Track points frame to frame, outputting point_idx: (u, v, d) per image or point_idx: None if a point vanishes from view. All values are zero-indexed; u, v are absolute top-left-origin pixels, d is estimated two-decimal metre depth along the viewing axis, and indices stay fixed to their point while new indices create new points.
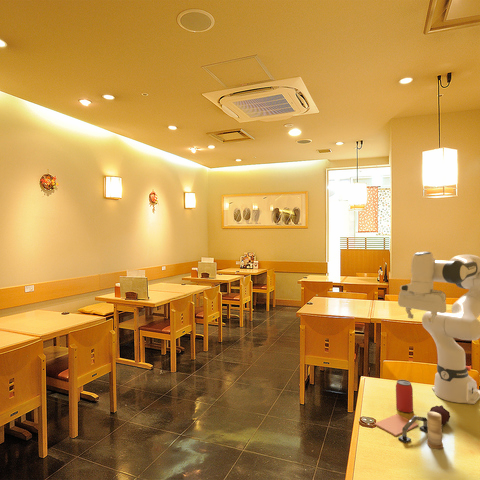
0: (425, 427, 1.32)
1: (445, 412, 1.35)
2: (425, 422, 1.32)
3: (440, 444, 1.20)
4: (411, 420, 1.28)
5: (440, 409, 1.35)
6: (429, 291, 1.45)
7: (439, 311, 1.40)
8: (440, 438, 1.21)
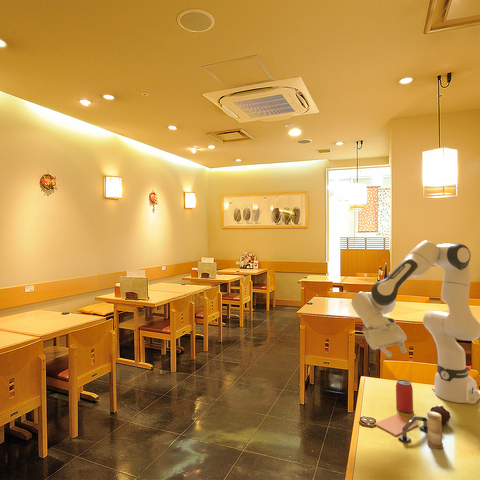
0: (425, 427, 1.32)
1: (445, 412, 1.34)
2: (425, 422, 1.32)
3: (440, 444, 1.20)
4: (411, 420, 1.28)
5: (440, 409, 1.35)
6: None
7: None
8: (440, 438, 1.21)
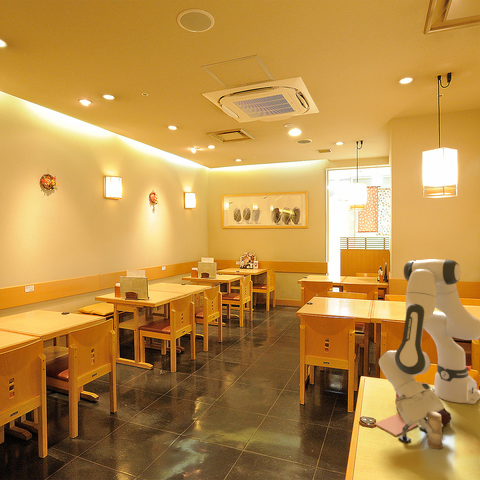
0: None
1: (446, 413, 1.34)
2: (425, 422, 1.32)
3: (440, 444, 1.20)
4: None
5: (441, 410, 1.34)
6: None
7: None
8: (440, 438, 1.21)
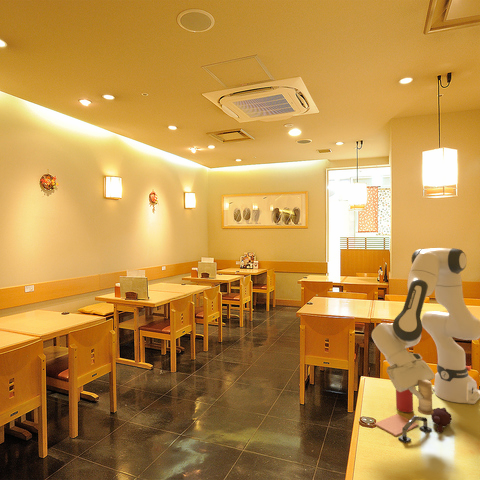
0: (425, 427, 1.32)
1: (446, 414, 1.33)
2: (425, 422, 1.32)
3: (430, 410, 1.23)
4: (411, 420, 1.28)
5: (441, 411, 1.34)
6: None
7: None
8: (430, 404, 1.23)
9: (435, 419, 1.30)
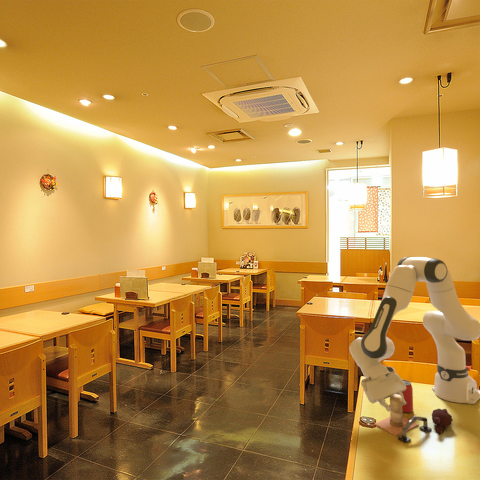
0: (425, 427, 1.32)
1: (447, 415, 1.32)
2: (425, 422, 1.32)
3: (400, 422, 1.34)
4: (411, 420, 1.28)
5: (442, 412, 1.33)
6: None
7: None
8: (400, 417, 1.34)
9: (435, 420, 1.30)
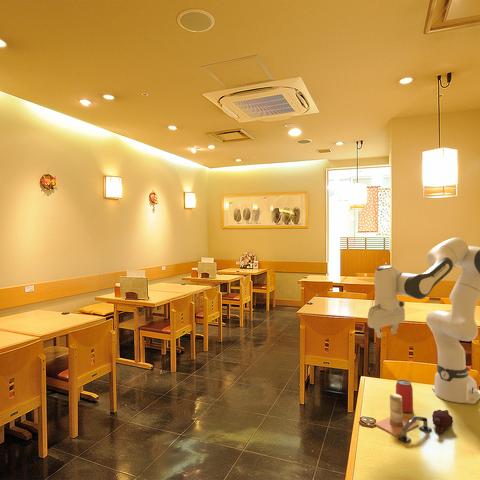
0: (425, 427, 1.32)
1: (447, 416, 1.31)
2: (425, 422, 1.32)
3: (400, 422, 1.34)
4: (411, 420, 1.28)
5: (442, 413, 1.32)
6: None
7: None
8: (400, 417, 1.34)
9: (435, 421, 1.29)
